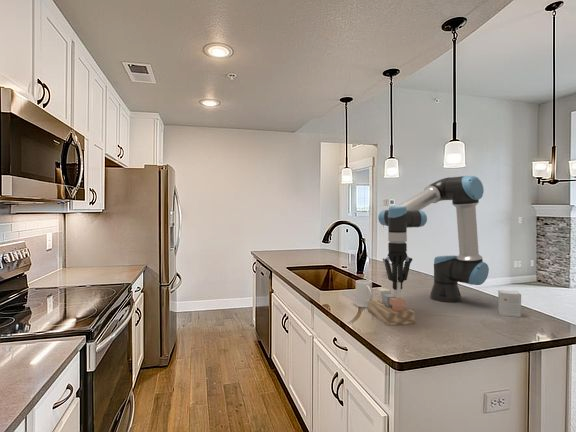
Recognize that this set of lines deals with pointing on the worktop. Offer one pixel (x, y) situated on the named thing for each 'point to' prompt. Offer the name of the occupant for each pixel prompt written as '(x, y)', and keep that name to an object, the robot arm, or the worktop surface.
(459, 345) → the worktop surface
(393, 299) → the terracotta key
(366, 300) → the mug
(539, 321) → the worktop surface
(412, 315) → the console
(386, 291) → the ivory key
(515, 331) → the worktop surface
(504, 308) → the small box
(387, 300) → the slate key
